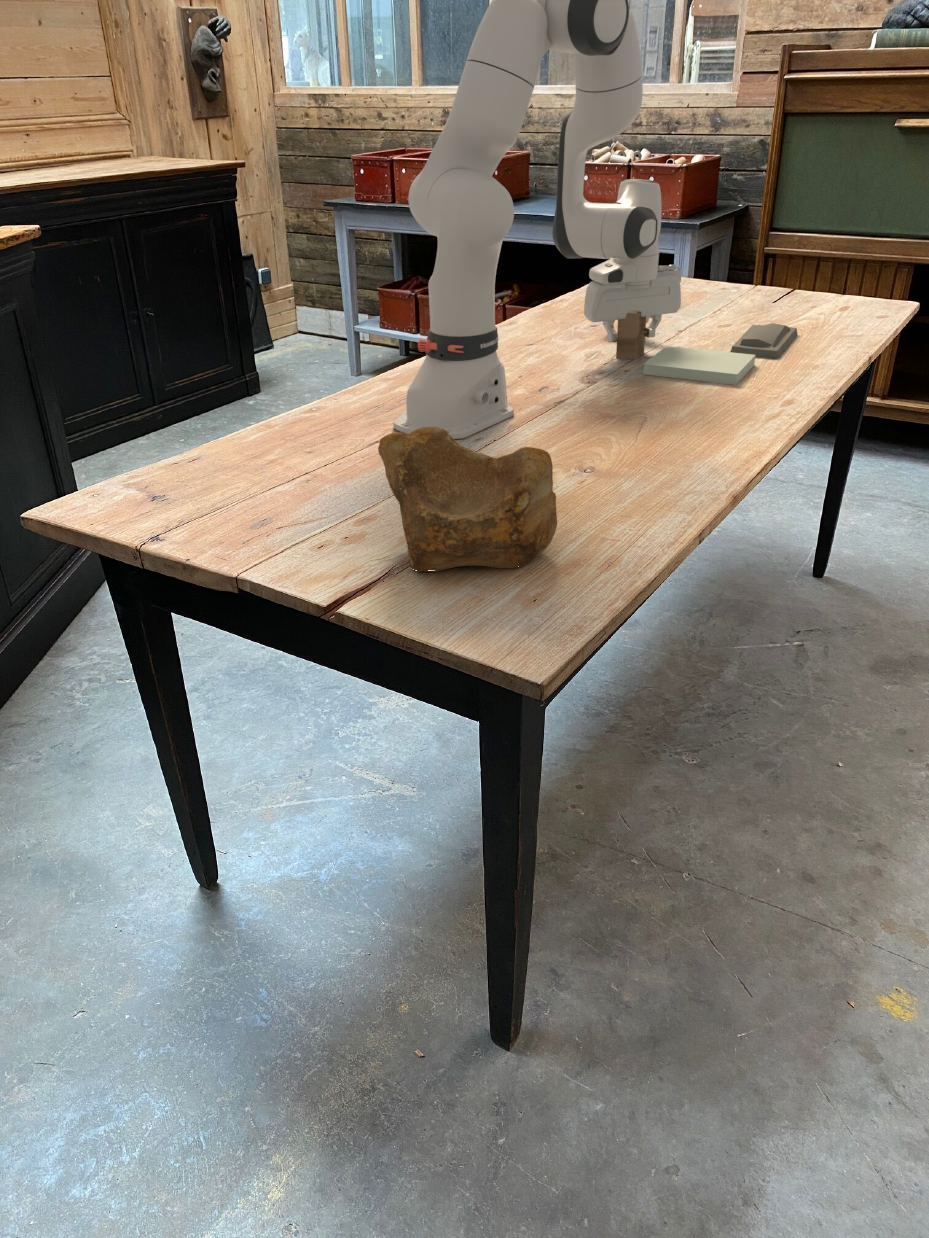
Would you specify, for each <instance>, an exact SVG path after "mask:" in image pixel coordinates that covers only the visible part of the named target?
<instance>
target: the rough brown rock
mask: <svg viewBox="0 0 929 1238" xmlns="http://www.w3.org/2000/svg"><path fill="white" fill-rule="evenodd" d="M378 444H379V445H378V448H377V451H378V453H379V456H380V458H381V460H382V463H383V465H384V470H385V471H384V472H385V477H386V479H387V482H388V484H389V487H390V490H391V492H392V494H393V496H394V497H395V499H396V500H397V502H398V505H399V509H400V515H401V516H400V517H401V521H402V528H403V529H402V530H403V533H404V536H405V541H406V546H407V550H408V557H409V559H408V560H409V561H408V563H409V565H411V566H410V569H411V568H412V569H414V570H417V571H428V570H441V571H444V570H448V569H452V568H456V567H466V566H479V567H482V566H483V567H489V568H497V569H515V568H514V567H518V566H519V568H521V567H523V566H524V565H525V564H527V562H528V561H530V560H531V559H535V558H537V557H538V556H539V555H540V554H541V553H543V551H544V550H545V549H547V547H549V545H550V544H551V542H552V541H553V539H554V536H555V534H556V530H557V527H558V515H557V504H556V503H557V495H556V493H555V492H554V490H553V488H554V487H553V486H554V479H553V473H554V472H553V466H554V465H553V460H552V458H551V455H550V453H549V452H548V451H546V450H544V449H542V448H538V447H532V446H531V447H529V446H524V447H520V448H519V449H517V450H515V451H514V452H512V453H509V454H504V455H502V456H500V457H494V456H493V457H492V456H490V455H487V454H485V453H481V452H477V451H475V450H472V449H469V448H467V447H465V446H463V445H460V444H459V443H458V442H457V441H456V439H453V438H452V437H451V436H450V435H449V434H448V432H447V431H446V430H444V429H442V428H439V427H422V428H420V429H416V430H414V431H412V432H411V433H409V434H407V433H405V432H401V431H399V432H392V433H388V434H387V435H384V436H383V437H381V438H380V439H379V443H378ZM520 566H521V567H520ZM412 569H411V570H412ZM443 569H444V570H443Z"/></svg>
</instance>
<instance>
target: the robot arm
mask: <svg viewBox="0 0 929 1238" xmlns="http://www.w3.org/2000/svg"><path fill="white" fill-rule="evenodd" d="M549 50H551V51H553V52H555V53H562V54H571V55H572V57H573V66H574V68H573V69H574V70H573V71H574V84H575V96H574V97H575V98H574V99H575V100H574V103H573V104H574V105H573V107H572V110H571V111H570V112H569V113H567V114H566V115H565V116H564V119H563V122H562V123H561V129H560V135H559V142H558V156H557V159H558V160H557V179H556V199H555V200H556V203H555V212H554V218H553V224H552V242H553V243H554V245H555V247H556V248H557V251H559V252H560V254H561V255H562V256H564V258H566V259H586V258H588V259H601V260H602V259H603V260H604V259H605V260H606V261H604V262H601V263H599V264H597V265H595V266H593V267H590V269H589V272H588V277H589V279H591V281H590V282H589V283H588V285H587V287H586V288H585V289H586V291H585V296H584V306H583V307H584V308H583V314H584V316H585V318H586V320H588V321H590V322H591V323H601V322H602V325H603V327H604V329H605V331H606V333H607V339H606V340H607V342H608V343H617V341H618V339H617V337H618V333H617V332H613V330H612V327H611V326H613V325H614V324H615V322H614V320H615V321H618V320H620V319H625V318H626V313H629V312H631V311H639V312H641V317H644V316H651V318H650V319H651V322H650V323H649V325H648V326H646V330H645V338H647V339H651V338H655V337H656V329H657V328H658V327H659V325H660V323H661V321H662V318H663V317H662V316H663V315H668V314H675V313H678V312H679V310H680V309H681V306H682V291H681V289H682V288H681V282H682V275H683V274H682V270H681V268H680V267H678V266H677V265H676V264H668V265H659V258H660V247H659V235H660V232H661V228H662V192H661V186H660V184H659V183H658V182H657V181H655V180H650V179H641V178H639V179H638V178H629V179H623V180H622V181H621V182H620V184H619V188H618V193H617V198H616V201H615V202H614V203H606V202H605V203H604V202H591V201H588V200H587V199H586V198H585V197H584V185H585V171H586V169H585V168H586V156H587V153H588V152H589V150H590V149H592V148H595V147H597V146H599V145H601V144H604V143H606V142H608V141H610V140H612V139H614V138H617V137H618V136H619V135H621V134H622V133H624V131H627V129H628V128H629V127H631V125H632V124H633V123H634V122H635V121H636V119H637V118H638V115H639V113H640V111H641V108H642V104H643V95H644V93H643V92H644V91H643V87H644V85H643V70H642V69H643V67H642V57H641V49H640V43H639V37H638V31H637V27H636V23H635V20H634V16H633V13H632V11H631V9H630V6H629V0H491V1H490V3H489V5H488V6H487V8H486V11H485V13H484V15H483V17H482V19H481V21H480V24H479V26H478V28H477V31H476V33H475V35H474V38H473V40H472V44H471V46H470V48H469V52H468V55H467V58H466V61H465V65H464V68H463V71H462V75H461V77H460V80H459V83H458V88H457V90H456V92H455V93H456V94H455V96H454V100H453V102H452V105H451V109H450V111H449V114H448V117H447V120H446V122H445V124H444V127H443V129H442V131H441V132H440V135H439V137H438V139H437V140H436V143H435V144H434V146H433V148H432V151H431V152H430V154H429V157H428V158H427V160H426V162H425V165H424V166H423V168H422V170H421V171H420V172H419V174H418V175H417V176H416V177H414V179H413V180H412V183H411V185H410V188H409V189H408V190H409V191H408V198H407V199H408V207H409V210H410V213H411V214H412V216H413V218H414V219H415V221H416V222H417V224H418V225H419V226H420V227H421V228H422V229H423V230H424V231H425V232H427V233H428V234H429V235H431V236H435V237H437V248H436V249H437V250H436V257H435V261H434V262H435V263H434V268H433V272H432V275H431V276H430V278H429V280H428V286H427V287H428V302H429V303H428V305H429V324H430V327H429V329H428V333H427V337H426V339H422V338H420V339H419V340H418V342H417V350H418V352H421V353H422V352H425V355H426V356H425V357H424V360H423V362H422V364H421V365H420V367H419V369H418V371H417V373H416V374H415V376H414V379H413V380H412V382H411V384H410V386H409V387H408V389H407V392H406V410H405V411H403V413H402V414H401V415H400V416H398V418H396V419H395V420H394V421H393V429H394V430H396V431H399V432H405V433H407V434H409V433H411V432H412V431H414V430H416V429H420V428H422V427H439V428H442V429H444V430H446V431H447V432H448V434H449V435H450V436H451V437H452V438H453V439H454V440H457V439H461V440H462V439H466V438H468V437H469V436H472V435H475V434H476V433H478V432H481V431H483V430H485V429H487V428H489V427H491V426H494V425H496V424H498V423H500V422H502V421H505V420H506V419H509V418H511V417H513V416H514V415H515V411H514V408H513V407H512V406H510V405H509V404H508V393H507V392H508V391H507V380H506V372H505V371H506V370H505V366H504V364H503V363H502V362H501V360H500V358H499V356H498V353H497V351H498V349H499V334H498V327H497V326H496V316H495V315H496V309H495V308H496V301H495V300H496V298H495V297H496V294H495V293H496V292H495V291H496V289H495V288H496V287H495V286H496V285H495V284H496V278H497V277H496V275H497V269H498V264H499V259H500V253H501V249H502V245H503V241H504V239H505V238H506V237H507V235H508V234H509V232H510V230H511V229H512V225H513V223H514V219H515V208H514V207H515V206H514V202H513V199H512V196H511V194H510V192H509V191H508V190H507V189H506V187H505V186H504V185H502V184H501V183H500V182H499V181H498V180H497V179H496V178H494V177H493V175H494V173H495V171H496V170H497V168H498V166H499V164H500V162H501V161H502V159H503V158H504V157H505V155H506V154H507V153H508V151H509V150H511V149H512V147H513V146H514V145H515V144H516V142H517V140H518V137H519V134H520V132H521V129H522V126H523V122H524V119H525V116H526V113H527V111H528V108H529V104H530V102H531V98H532V95H533V92H534V90H535V86H536V83H537V80H538V75H539V74H540V73H539V72H540V68H541V65H542V60H543V58H544V56H545V55H546V53H547V52H548V51H549Z"/></svg>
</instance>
